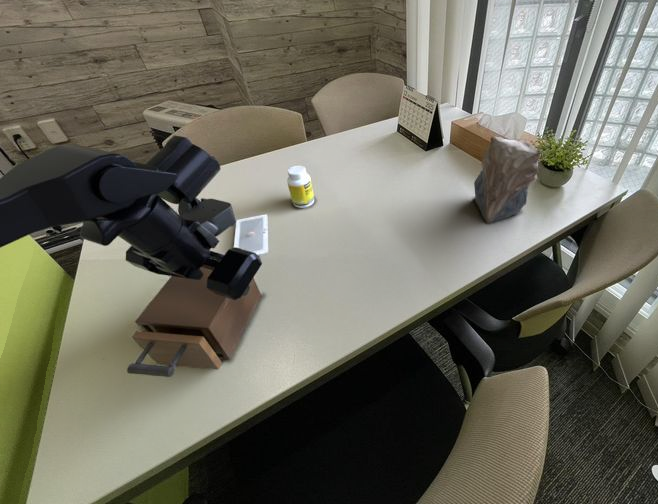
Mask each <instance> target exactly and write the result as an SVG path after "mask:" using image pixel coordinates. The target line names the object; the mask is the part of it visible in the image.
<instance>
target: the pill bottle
mask: <svg viewBox="0 0 658 504" xmlns="http://www.w3.org/2000/svg"><path fill="white" fill-rule="evenodd" d="M287 175H288V177H287V179H286V182H287V186H288V190H289V194H290V198H291V202H292V204H293V206H294V207H296V208H301V209H303V208H308V207H310V206H311V205H313V204H314V202H315V195H314V191H313V185H312V179H311V176H310V174H308V173H307V170H306V167H305V166H304V165H299V164H298V165H292V166H291V167H288V169H287Z"/></svg>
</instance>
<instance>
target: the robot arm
mask: <svg viewBox="0 0 658 504" xmlns="http://www.w3.org/2000/svg"><path fill="white" fill-rule="evenodd" d="M220 172H221V164H220V162H219V161H218V159H216V157H214V156H212V155H211V154H210V153H208V152H207V151H205V150H204V149H203V148H201V147H199V146H198V145H196V144H194V143H192V141H191V140H190V139H189V138H188V137H186V136H182V135H177V134H176V135H173V136H171V137H170V138H169V139H168V140H167V142H166V143H165V144H164V146H163V147H162V148H161V149H159V151H158V152H157V153H156V154H155V155H153V156H152V157H151V158H150V159H149V160H148V161H147V162H146V163H141V162H137V161H133V159H131V158H130V157H128V156H126V155H123V154H120V153H118V152H117V153H116V152H112V151H108V150H103V149H98V148H94V147H90V146H87V145H86V146H85V145H79V144H73V143H70V144H69V143H66V144H60V145H56V146H54V147H51V148H50V149H47V150H45V151H43V152H41V153H38V154H36V155H35V156H32V157H30V158H29V159H26V160H24V161H22V162H19V163H18V164H16V165H15V166H14V167H12V168H11V169H10V170H9V171H8V172H7V173H5V174H4V175H3V176H1V177H0V249H1V248H3V247H5V246H7V245H10V244H13V243H14V242H16V241H18V240H20V239H23V238H25V237H27V236H30V235H32V234H34V233H37V232H40V231H44V230H48V229H51V228H55V227H61V226H67V225H72V224H78V223H82V225H81V228H80V233H79V238H80V239H82V240H85V241H88V242H91V243H94V244H97V245H100V246H104V247H107V246H109V245H111V244H112V243H113V242H114V241H115V239H116V238H117V237H119V238H120V239H122V240H123V241H125V242H126V243H127V244H129V245H130V246H129V247H128V249H127V250H126V251H125V261H126V262H127V263H129V264H130V265H132V266H134V267H136V268H138V269H140V270H141V269H142V270H144V271H147V272H149V273H153V274H156V275H160V276H161V275H162V276H168V277H171V276H174V277H181V278H187V279H195V280H200V279H201V278H202V276H203V275H204V274H203V272H202V271H201V270H200V268H201V267H204V268H207V269H210V270H213V271H212V273H211V274H210V275H209V277H208V278H207V288H208V289H209V290H210V291H212V292H214V293H215V294H217V295H220V296H223V297H226V298H229V299H232V300H236V299H239V298H241V296H246V295H247V294H248V292H249V291H250V286H249V284H250V282H251V281H252V279H253V278H254V277H255V276H256V274H257V273H258V271H259V270H260V269H261V267H262V265H263V262H262V259H261V257H260V256H259V255H257V254H256V253H254V252H250V251H247V250H243V249H240V248H236V247H235V248H234V247H232V248H229V249H227V250H226V252H225V253H224V254H223V253H219V252H218V251H217V252H216V251H213V250H211V249H215V248H216V247H217V246H218V245H219V243H220V240H219V239H218V238H217V237H218V236H220V235H221V234H222V233H224V232H225V231H226V230H228V229H229V228H230V227H233V226H236V220H237V219H236V216H235V212H234V209H233V206H232V204H231V203H230V202H228V201H224V200H220V199H216V198H204V197H202V198H200V199H199V198H198V196H199V195H200V194H201V193H202V192H203V190H205V188H206V187H207V186H208V185H209V183H211V181H212V180H213V179H214V178H215V177H216V176H217V175H218V174H219V173H220ZM167 202H168V203H170V204H174V205H178V206H177V212H176V210H175V209H173V208H172V207H171V206H170V204H168V203H167Z"/></svg>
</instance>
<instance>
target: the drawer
mask: <svg viewBox="0 0 658 504" xmlns="http://www.w3.org/2000/svg"><path fill="white" fill-rule="evenodd" d="M148 326H149V327H150V328H151V329H152V331H153V332H144V331H143V330H142V331H141V330H135V331H134V333H133V335H132V336H131V339H132V341H134V342H135V343H136V344H137V345H138V346H139V348H141V350H143V351H142V352H141V353H140V355H139V356H138V357H137V359H136V360H135V361H134V362H132V363H130V364H129V365H128V367H127V368H126V373H127V374H131V375H142V376H152V377H162V378H171V377H172V376H173V375H174V374H175V371H176V369H175V367H176V366H177V367H188V368H198V369H208V370H220V368H221V366H222V364H223V362H222V361H221V360H222V359H219V358H218V356H217V355H216V354H222V353H221V351H220V350H219V348H218V347H217V346H216V344H215V343H214V341H213V340H212V338H211V337H210V335H209V334H208V333H207V331H206V330H199V329H187V328H175V327H164V326H152V325H148ZM147 356H149V357H150V359H152V360H153V362H155V364H148V363H143V361H144V360H145V358H146V357H147Z"/></svg>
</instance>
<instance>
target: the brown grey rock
mask: <svg viewBox="0 0 658 504" xmlns="http://www.w3.org/2000/svg"><path fill="white" fill-rule="evenodd" d="M542 152H543V151H542V149H538V148H536V147H534V146H533V145H531V144H530V143H529V142H528V141H526V140H523V139H519V140H516V139H511V138H510V139H506V138H503V137H501V136H495V135H494V136H493V135H492V136H491V137H490V144H489V146H488V147H487V148H486V149H485V150H484V152H483V154H482V160H481V168H482V170H480V172H479V174H478V175H477V177H476V178H475V180H474V182H473V185H474V202H475V204H476V205H477V208H478V209H479V211H480V213H481V216H482V218H483V219H484V221H485V222H486V224H491V223H495V222H497V221H501V220H502V219H507V218H510V217H511V216H517V215H519V214H520V212H521V210H522V208H524V206H525V205H526V204H527V202H528V194H529V188H530V186H531V184H532V183H533V181H535V180H536V175H537V174H538V171H539V159H540V157H541V154H542Z"/></svg>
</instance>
